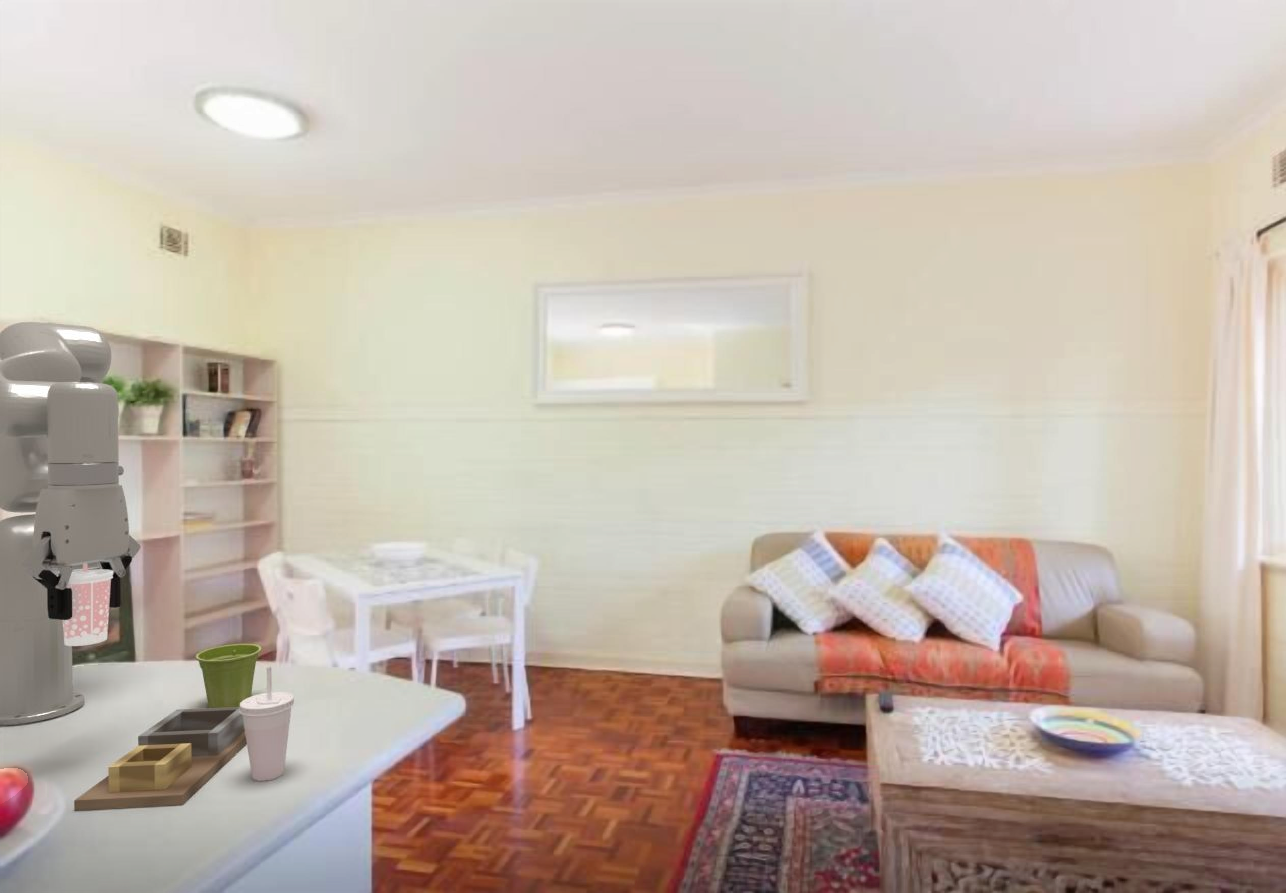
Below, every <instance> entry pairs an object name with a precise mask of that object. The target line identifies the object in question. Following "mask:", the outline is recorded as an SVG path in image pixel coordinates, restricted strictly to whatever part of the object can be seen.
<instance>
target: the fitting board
mask: <svg viewBox="0 0 1286 893" xmlns="http://www.w3.org/2000/svg"><path fill="white" fill-rule="evenodd" d="M239 710H240V707H226V708H209V707H207V708H206V707H205V708H185V709H181V708H180V709H176V710H174V711H173V712H171V713H169V714H168V715H167V716H165V717H164V718H163V719H161V720H159V721H158V722H156V723H155V724H154V725H152V726H151V727H150V728H148V729H147V730H145V731H143V732H142V733H140V734H139V735H138V737H137V741H138V742H137V743H138V744H137V745H138V746H136V747H134V748H133V749H131V751H129V752H128V753H126V754H125V755H123V756H122V757H121V758H119V759H118V760H115V762H114V763H112V764H111V765H109V766H108V774H107V776H106V777H104V778H103V779H102V780H100V781H99V782H97V783H96V784H95V785H94V786H92V787H90V788H89V789H88V790H86V792H84V793H82V794H81V795H80V796H78V797H77V798H76V799H74V801H73V802H74V804H73V810H79V811H97V810H108V809H109V810H113V809H131V808H149V807H168V806H183V805H184V804H185V803H186V802H187V801H188V800H189V799H190V798H192V797H193V796H194V795H195V794H196V793H197V792H198V791H199V790H200V789H201V788H203V787H204V786H205V784H206V783H208V782H209V780H211V778H213V776H215V775H216V774H217V773H218V772H219V771H220V770H221V769H222V768H223V767H224V766H225V765H226V764H227V763H229V762H230V761H231V760H232V759H233V758H234V757H235V756H236V755H237V754H238V753H239V752H240V751H241V750H242V749H243V748H244V747H246V746H247V742H246V735H245V729H244V722H243V715H242V714H240V712H239ZM236 753H237V754H236ZM235 754H236V755H235ZM233 756H234V757H233ZM232 757H233V758H232ZM231 758H232V759H231Z"/></svg>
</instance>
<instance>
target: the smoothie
mask: <svg viewBox="0 0 1286 893" xmlns="http://www.w3.org/2000/svg"><path fill="white" fill-rule="evenodd" d="M272 672H273V671H272V666H271V665H270V666H267V667H266V693H264V692H263V693H259V694H255V695H251V697H249V698H247V699H245V700H243V701H242V702H241V703H240V710H239V712H240V714H242V715H243V722H244V729H245V735H246V742H247V744H246V747H247V754H248V759H249V760H248V761H249V767H250V771H251V772H250V773H251V774H250V775H251V779H252V778H253V779H254V781H256V780H257V782H264V781H265V782H266V780H267V781H272V780H274V779H276V778H277V779H278V778H280V777H281V776H282V775H284V773H285V767H286V766H285V765H286V758H287V748H288V739H289V731H290V730H289V729H290V724H291V723H290V722H291V715H292V714H291V712H292V708H293V707H294V705H295V696H294V695H293V694H292V693H290V692H284V691H280V692H279V691H276V692H275V691H274V692H273V687H272V686H273V684H272V683H273V682H272V677H273V676H272V675H273V674H272ZM253 779H252V780H253Z"/></svg>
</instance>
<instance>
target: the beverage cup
mask: <svg viewBox="0 0 1286 893" xmlns="http://www.w3.org/2000/svg"><path fill="white" fill-rule="evenodd" d="M58 575H59V574H57V577H58ZM112 578H113V570H106V569H100V568H99V569H95V568H94V569H89V568H87V564H83V569H79V570H73V571H72V573H71V576H70V579H69V582H68V585H67V587H66V588H71V589H72V618H71V619H69V620H63V631H64V643H65V645H67V646H72V647H83V646H89V645H94V644H95V645H96V644H99V643H102V642H105V641H106V640H108V631H109V616H110V615H109V614H110V612H109V611H110V607H109V601H110V585H111V579H112Z"/></svg>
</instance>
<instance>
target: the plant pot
mask: <svg viewBox="0 0 1286 893" xmlns="http://www.w3.org/2000/svg"><path fill="white" fill-rule="evenodd" d="M261 652H262V647H261V646H260V645H258V644H254V643H253V644H252V643H236V644H235V643H234V644H226V645H220V646H216V647H210V648H207V649H204V650H201V651H200V652H198V653H197V654H196V655H195V660H196V661H198V663H199V664H198V665H199V667H200V669H201V672H202V676H203V682H204V688H205V693H206V694H205V695H206V701H207V705H208V708H226V707H240V703H241V702H242V701H243V700H245V699H247V698H249V697H252V691H253V684H254V677H255V669H256V664H257V661H258V658H259V655H260V653H261Z"/></svg>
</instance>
